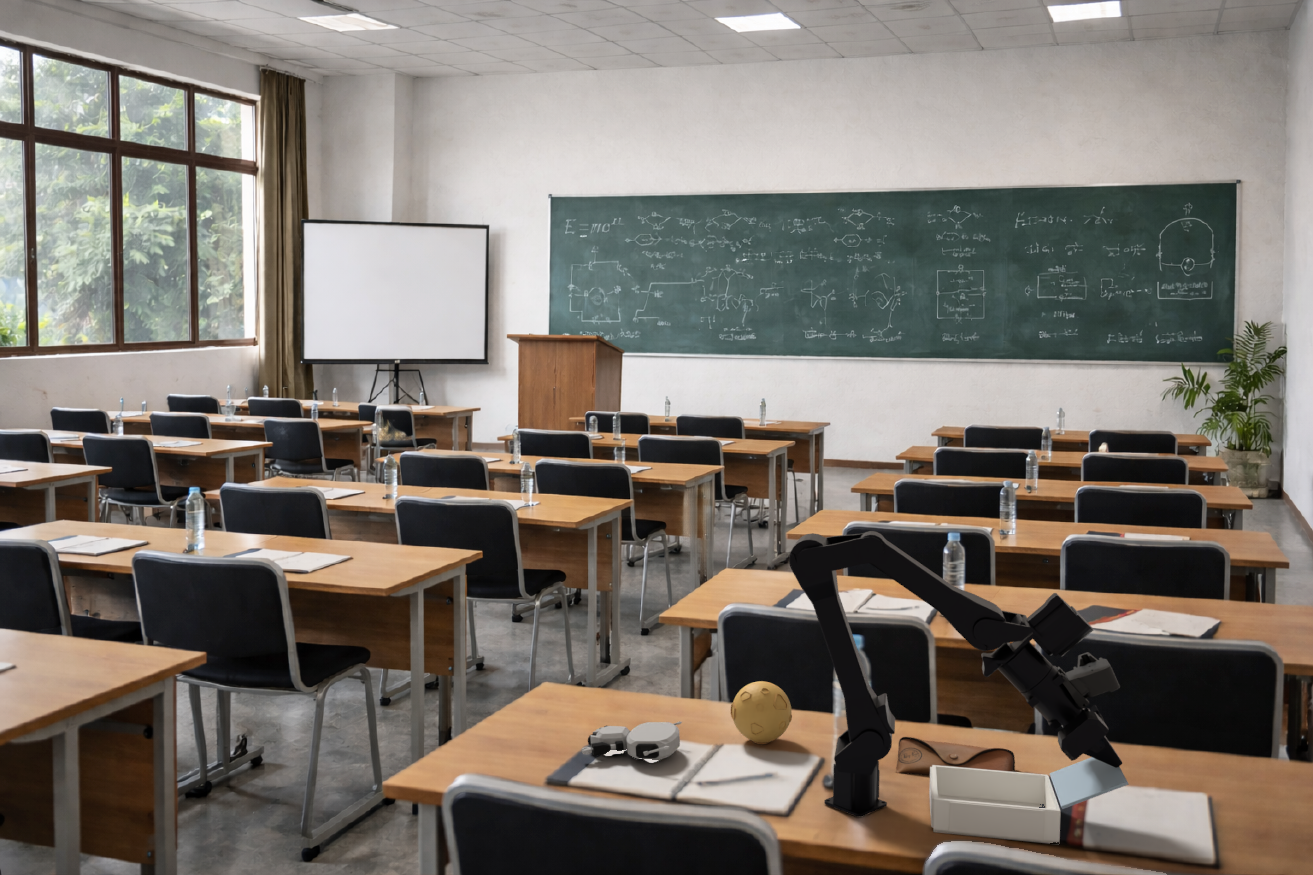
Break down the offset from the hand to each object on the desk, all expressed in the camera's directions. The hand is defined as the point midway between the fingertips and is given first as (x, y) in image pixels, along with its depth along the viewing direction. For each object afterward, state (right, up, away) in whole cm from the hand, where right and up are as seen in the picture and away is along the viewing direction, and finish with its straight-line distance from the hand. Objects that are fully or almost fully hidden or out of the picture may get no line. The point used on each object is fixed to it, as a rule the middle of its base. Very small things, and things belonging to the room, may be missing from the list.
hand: (1119, 764), depth 148 cm
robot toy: (-66, -7, +28) cm, 72 cm away
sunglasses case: (-16, -8, +22) cm, 29 cm away
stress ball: (-45, -7, +35) cm, 57 cm away
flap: (-8, -4, +2) cm, 10 cm away
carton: (-16, -9, +4) cm, 19 cm away
